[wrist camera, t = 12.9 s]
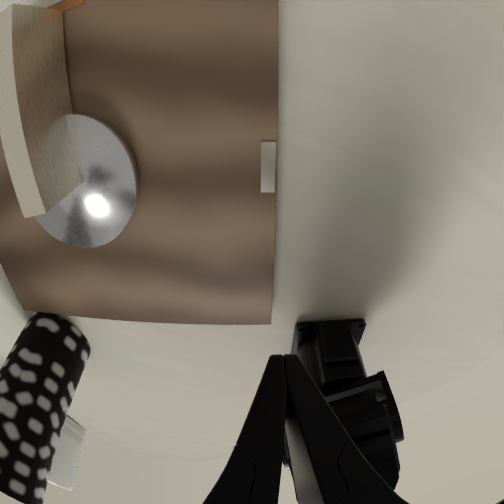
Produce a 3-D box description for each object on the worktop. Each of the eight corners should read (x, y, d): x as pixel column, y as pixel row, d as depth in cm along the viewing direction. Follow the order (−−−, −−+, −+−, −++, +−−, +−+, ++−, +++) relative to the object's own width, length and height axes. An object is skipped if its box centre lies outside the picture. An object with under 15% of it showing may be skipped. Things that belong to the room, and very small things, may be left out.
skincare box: (44, 407, 41) (23, 469, 28) (64, 411, 41) (44, 479, 28) (67, 426, 46) (51, 484, 33) (88, 431, 45) (73, 493, 32)
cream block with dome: (153, 235, 18) (129, 283, 14) (51, 246, 19) (18, 286, 15) (114, -11, 9) (70, -32, 5) (4, 45, 10) (-45, 51, 6)
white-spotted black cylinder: (104, 352, 28) (56, 517, 12) (67, 363, 30) (23, 497, 14) (50, 301, 24) (-29, 473, 7) (21, 320, 26) (-43, 457, 10)
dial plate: (269, 311, 24) (271, 325, 23) (30, 300, 24) (23, 310, 23) (274, -30, 11) (277, -40, 9) (-31, 63, 11) (-44, 65, 9)
